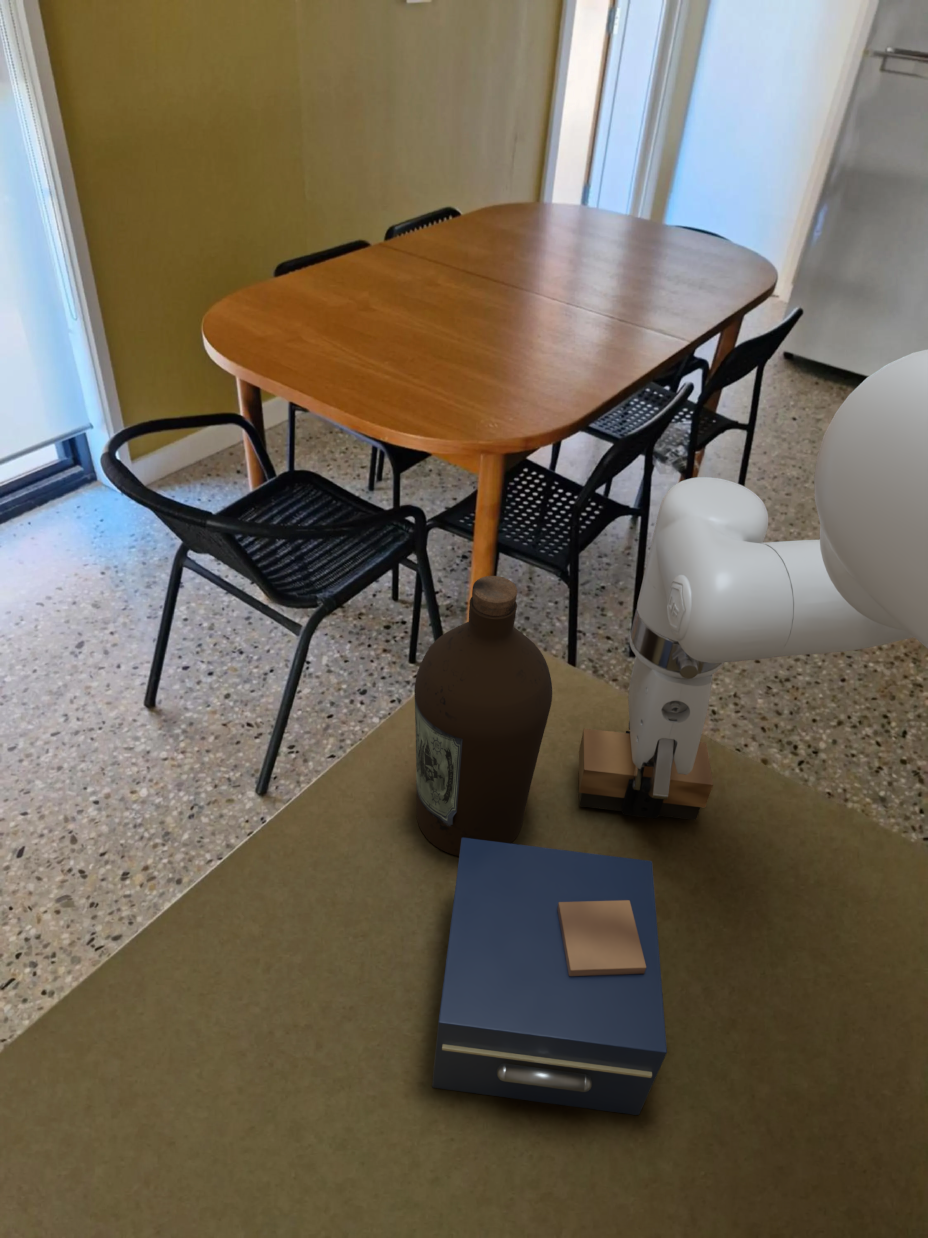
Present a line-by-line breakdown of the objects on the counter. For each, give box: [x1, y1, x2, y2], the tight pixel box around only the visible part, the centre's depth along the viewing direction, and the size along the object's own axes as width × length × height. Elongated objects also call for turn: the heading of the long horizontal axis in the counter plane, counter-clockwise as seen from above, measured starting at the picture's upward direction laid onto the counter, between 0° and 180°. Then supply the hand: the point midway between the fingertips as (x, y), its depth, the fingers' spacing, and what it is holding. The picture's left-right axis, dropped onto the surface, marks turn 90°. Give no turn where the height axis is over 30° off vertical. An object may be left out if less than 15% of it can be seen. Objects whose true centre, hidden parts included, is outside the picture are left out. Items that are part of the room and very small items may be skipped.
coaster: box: [557, 900, 646, 976], centre depth 59 cm, size 5×5×1 cm
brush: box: [578, 728, 714, 821], centre depth 79 cm, size 11×5×5 cm, turn 84°
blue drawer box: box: [431, 838, 668, 1116], centre depth 62 cm, size 15×14×9 cm
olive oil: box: [414, 575, 553, 857], centre depth 70 cm, size 11×11×25 cm
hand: (637, 787), depth 80 cm, fingers closed on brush, 5 cm apart
